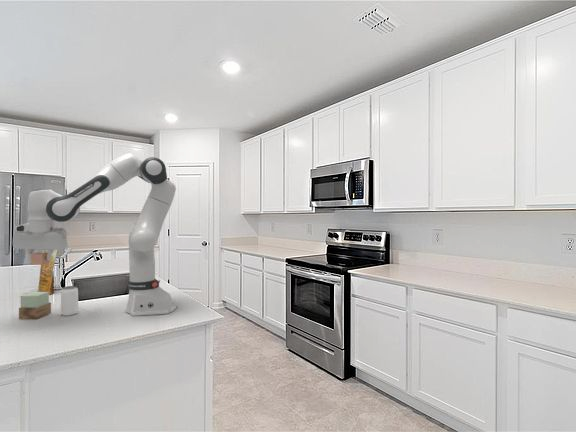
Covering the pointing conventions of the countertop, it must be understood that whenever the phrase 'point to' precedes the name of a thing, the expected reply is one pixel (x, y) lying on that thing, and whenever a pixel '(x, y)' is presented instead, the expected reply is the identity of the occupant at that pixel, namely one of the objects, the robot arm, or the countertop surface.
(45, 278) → the pancake mix bag
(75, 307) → the can
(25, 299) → the tower top
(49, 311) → the tower base
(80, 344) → the countertop surface
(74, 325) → the countertop surface
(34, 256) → the cube
